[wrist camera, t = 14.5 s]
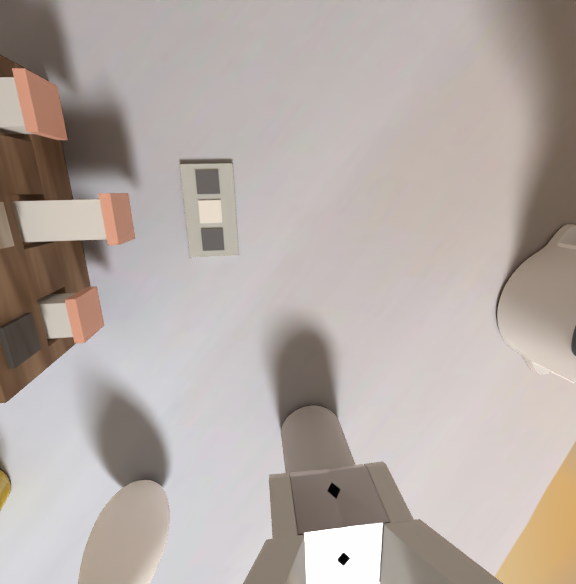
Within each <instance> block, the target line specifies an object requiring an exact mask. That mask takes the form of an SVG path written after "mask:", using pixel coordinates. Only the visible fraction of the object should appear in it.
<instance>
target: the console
mask: <svg viewBox="0 0 576 584" xmlns="http://www.w3.org/2000/svg"><path fill="white" fill-rule="evenodd" d="M12 68H24V67H22V66H20V65H18V64H16V63H15V62H13V61H11V60H9V59H7V58H5V57H4V56H2V55H0V77H14V76H13V71H12ZM28 71H29V70H28ZM30 72H31V71H30ZM32 73H33V72H32ZM34 74H35V73H34ZM39 77H40V76H39ZM41 78H42V77H41ZM43 79H44V78H43ZM43 200H73V197H72V192H71V187H70V182H69V177H68V172H67V167H66V163H65V158H64V153H63V148H62V143H61V140H55V139H51V138H48V137H44V136H40V135H37V134H0V403H6V402H7V401H9V400H10V399H11V398H12V397H13V396H14V395H16V394H17V393H18V392H19V391H20V390H22V389H23V388H24V387H25V386H26V385H27V384H29V383H30V382H31V381H32V380H33V379H35V378H36V377H37V376H38V375H39V374H40V373H42V372H43V371H44V370H45V369H46V368H48V367H49V366H50V365H51V364H52V363H53V362H55V361H56V360H57V359H58V358H59V357H60V356H62V355H63V354H64V353H65V352H66V351H68V350H69V349H70V348H71V347H72V346H73V345H75V344H76V343H74V338H73V337H66V338H50V339H47V338H46V334H45V330H44V326H43V322H42V318H41V314H40V310H39V306H38V302H37V300H39V299H41V298H43V297H45V296H47V295H49V294H64V293H78V292H79V291H81V290H83V289H85V288H86V287H90V282H89V277H88V272H87V267H86V262H85V257H84V252H83V247H82V242H81V240H73V241H45V242H22V239H21V235H20V231H19V227H18V223H17V219H16V215H15V211H14V207H13V203H12V201H43Z"/></svg>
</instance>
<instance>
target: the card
mask: <svg viewBox="0 0 576 584" xmlns="http://www.w3.org/2000/svg"><path fill="white" fill-rule="evenodd" d="M180 171H181V180H182V189H183V199H184V208H185V217H186V226H187V235H188V244H189V253H190V257H203V256H228V255H239V251H238V236H237V221H236V206H235V191H234V176H233V163H221V164H180Z"/></svg>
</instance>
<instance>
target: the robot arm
mask: <svg viewBox="0 0 576 584" xmlns="http://www.w3.org/2000/svg"><path fill="white" fill-rule="evenodd" d="M497 320H498V327H499V330H500V333H501V335H502V337H503V339H504V340H505V342H506V343H507V344H508V345H509V346H510V347H511V348H512V349H514V350H515V351H517V352H518V353H520V354H521V355H522V356H523V357H524V358H525V360H526V362H527V364H528V366H529V367H530V369H531V370H532V371H534V372H536V373H538V374H541V375H543V374H548V373H554V374H556V375H558V376H560V377H562V378H564V379H566V380H568V381H570V382H572V383H574V384H576V225H573V224H567V225H564V226H563V227H562V228H560V229H559V230H558V231H557V233H556V234H555V235H554V236H553V237H552V239H551V240H550V241H549V243H548V244H547V245H546V246H545V247H544V248H542V249H541V250H540V251H538V252H537V253H535V254H534V255H532V256H531V257H529V258H528V259H527V260H526V261H524V262H523V263H522V264H521V265H520V266H519V267H518V268H517V269H516V271H515V272H514V273H513V274H512V276H511V277H510V278H509V280H508V282H507V283H506V285H505V287H504V289H503V291H502V294H501V297H500V300H499V304H498V311H497ZM269 486H270V502H271V519H272V535H273V539H268V540H266V541H265V543H264V545H263V547H262V549H261V551H260V553H259V555H258V557H257V558H256V560H255V562H254V564H253V566H252V568H251V570H250V572H249V574H248V576H247V577H246V579H245V581H244V583H243V584H503V583H502V582H500V581H499V580H498V579H496V578H495V577H494V576H493V575H491V574H490V573H489V572H487V571H486V570H485V569H484V568H482V567H481V566H480V565H478V564H477V563H476V562H475V561H473V560H472V559H471V558H469V557H468V556H467V555H465V554H464V553H463V552H462V551H460V550H459V549H458V548H456V547H455V546H454V545H453V544H451V543H450V542H449V541H447V540H446V539H445V538H443V537H442V536H441V535H440V534H438V533H437V532H436V531H434V530H433V529H432V528H431V527H429V526H428V525H427V524H425V523H424V522H423V521H421V520H420V519H418V520H414V519H413V517H412V515H411V513H410V511H409V509H408V507H407V505H406V503H405V501H404V499H403V497H402V495H401V493H400V491H399V489H398V487H397V485H396V483H395V481H394V479H393V477H392V475H391V473H390V471H389V469H388V467H387V465H386V464H385V463H384V462H376V463H368V464H364V465H363V464H360V465H352V466H344V467H336V468H328V469H323V470H312V471H300V472H289V473H282V474H271V475H269Z"/></svg>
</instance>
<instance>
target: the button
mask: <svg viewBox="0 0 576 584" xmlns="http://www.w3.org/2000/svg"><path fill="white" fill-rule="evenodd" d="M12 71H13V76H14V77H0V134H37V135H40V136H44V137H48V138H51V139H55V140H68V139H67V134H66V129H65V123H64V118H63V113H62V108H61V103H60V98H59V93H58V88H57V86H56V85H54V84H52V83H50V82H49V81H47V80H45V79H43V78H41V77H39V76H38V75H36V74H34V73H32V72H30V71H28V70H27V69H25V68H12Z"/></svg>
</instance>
